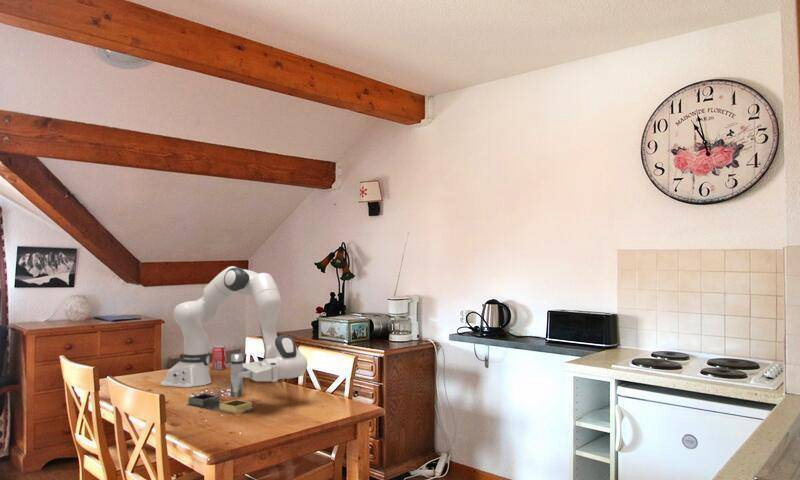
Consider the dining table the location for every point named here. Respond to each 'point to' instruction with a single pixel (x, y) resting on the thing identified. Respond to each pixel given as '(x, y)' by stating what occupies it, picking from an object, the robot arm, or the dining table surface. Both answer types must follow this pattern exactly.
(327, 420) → the dining table surface
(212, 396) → the plate
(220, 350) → the soda can
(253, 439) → the dining table surface
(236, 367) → the tube
